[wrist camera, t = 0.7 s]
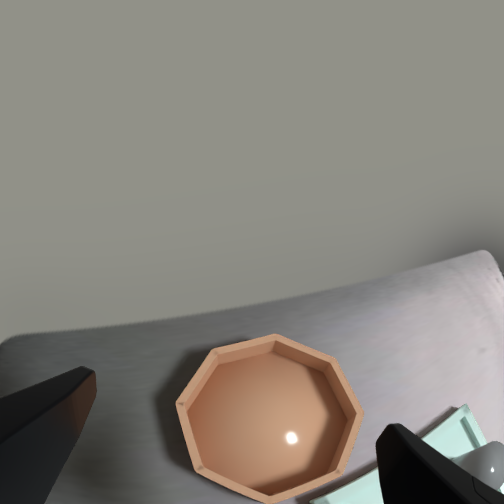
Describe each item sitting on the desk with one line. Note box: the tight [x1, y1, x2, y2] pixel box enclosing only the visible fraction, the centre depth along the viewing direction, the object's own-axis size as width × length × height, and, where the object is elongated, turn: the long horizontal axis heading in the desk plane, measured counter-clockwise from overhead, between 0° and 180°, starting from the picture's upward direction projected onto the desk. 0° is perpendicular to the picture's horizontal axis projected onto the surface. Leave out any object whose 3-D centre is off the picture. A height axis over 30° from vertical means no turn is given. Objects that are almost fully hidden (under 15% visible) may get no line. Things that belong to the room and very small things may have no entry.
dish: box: [175, 334, 364, 504], centre depth 19 cm, size 13×13×2 cm
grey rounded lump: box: [450, 441, 504, 490], centre depth 13 cm, size 5×5×5 cm
